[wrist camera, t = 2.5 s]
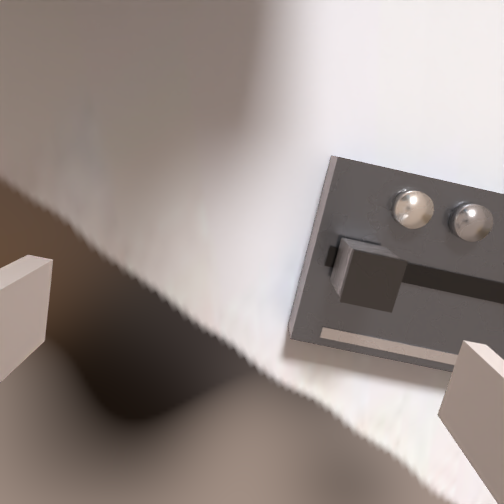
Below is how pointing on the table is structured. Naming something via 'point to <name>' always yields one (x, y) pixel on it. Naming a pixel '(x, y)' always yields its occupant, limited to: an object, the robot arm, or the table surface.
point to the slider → (367, 275)
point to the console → (417, 270)
